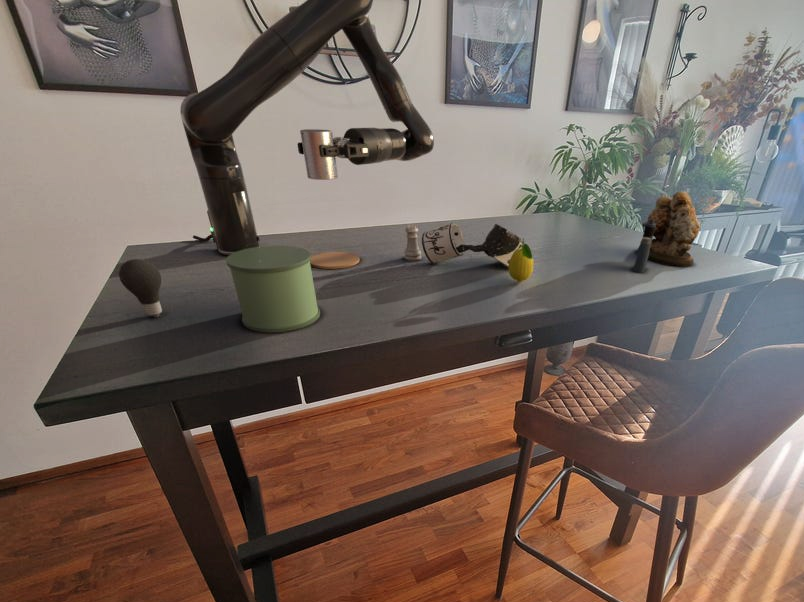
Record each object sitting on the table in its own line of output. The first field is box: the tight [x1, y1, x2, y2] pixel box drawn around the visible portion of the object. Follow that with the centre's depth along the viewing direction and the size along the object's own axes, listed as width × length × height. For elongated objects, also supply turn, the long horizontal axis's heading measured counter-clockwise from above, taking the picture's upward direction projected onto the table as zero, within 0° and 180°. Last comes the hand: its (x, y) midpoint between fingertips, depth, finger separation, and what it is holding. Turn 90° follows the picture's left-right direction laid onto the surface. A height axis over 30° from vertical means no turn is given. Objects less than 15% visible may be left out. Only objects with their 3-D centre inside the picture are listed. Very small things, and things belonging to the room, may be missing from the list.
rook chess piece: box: [403, 224, 422, 262], centre depth 109 cm, size 4×4×8 cm
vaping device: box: [633, 219, 656, 274], centre depth 109 cm, size 3×5×12 cm, turn 155°
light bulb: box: [118, 258, 163, 318], centre depth 75 cm, size 6×6×10 cm
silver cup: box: [299, 128, 339, 181], centre depth 95 cm, size 6×6×9 cm
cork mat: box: [310, 251, 361, 270], centre depth 107 cm, size 12×12×1 cm
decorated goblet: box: [421, 222, 526, 268], centre depth 107 cm, size 25×10×10 cm, turn 92°
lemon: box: [508, 237, 534, 284], centre depth 97 cm, size 7×6×10 cm
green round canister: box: [225, 245, 321, 334], centre depth 77 cm, size 13×13×11 cm
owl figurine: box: [637, 190, 701, 267], centre depth 118 cm, size 18×12×17 cm, turn 27°
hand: (309, 150), depth 93 cm, fingers closed on silver cup, 6 cm apart
